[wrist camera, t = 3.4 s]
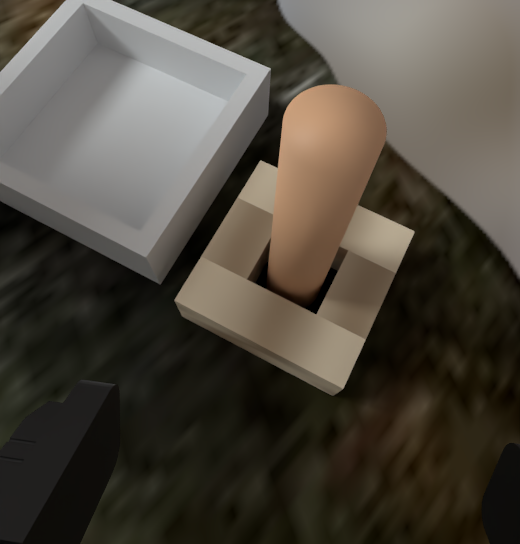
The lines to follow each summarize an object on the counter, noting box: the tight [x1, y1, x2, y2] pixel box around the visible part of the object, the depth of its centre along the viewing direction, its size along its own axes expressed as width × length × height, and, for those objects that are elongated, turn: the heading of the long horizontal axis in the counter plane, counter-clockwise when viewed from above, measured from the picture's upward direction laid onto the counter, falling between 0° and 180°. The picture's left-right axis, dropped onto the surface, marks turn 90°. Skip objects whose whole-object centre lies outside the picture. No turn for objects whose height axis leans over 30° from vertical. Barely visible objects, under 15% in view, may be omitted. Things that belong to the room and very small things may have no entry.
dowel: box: [266, 85, 387, 308], centre depth 20 cm, size 3×3×14 cm
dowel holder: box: [174, 160, 415, 396], centre depth 26 cm, size 9×9×3 cm
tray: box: [0, 0, 271, 285], centre depth 28 cm, size 13×13×4 cm
